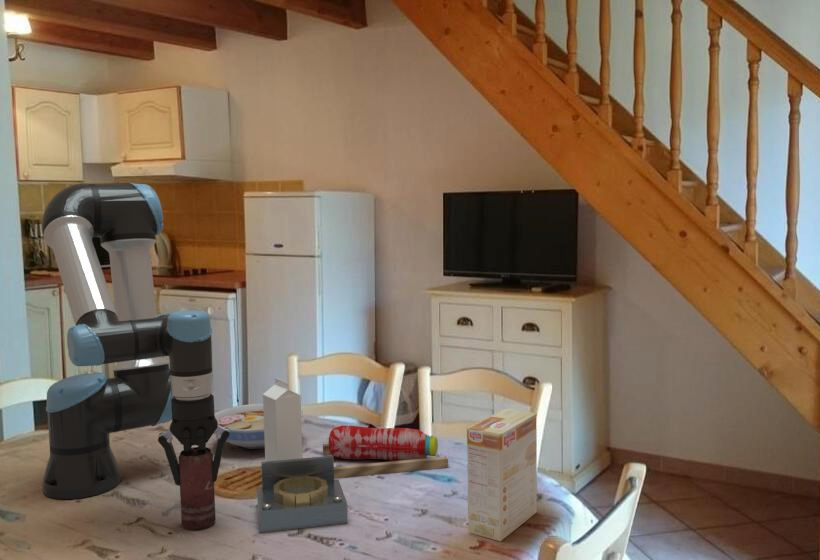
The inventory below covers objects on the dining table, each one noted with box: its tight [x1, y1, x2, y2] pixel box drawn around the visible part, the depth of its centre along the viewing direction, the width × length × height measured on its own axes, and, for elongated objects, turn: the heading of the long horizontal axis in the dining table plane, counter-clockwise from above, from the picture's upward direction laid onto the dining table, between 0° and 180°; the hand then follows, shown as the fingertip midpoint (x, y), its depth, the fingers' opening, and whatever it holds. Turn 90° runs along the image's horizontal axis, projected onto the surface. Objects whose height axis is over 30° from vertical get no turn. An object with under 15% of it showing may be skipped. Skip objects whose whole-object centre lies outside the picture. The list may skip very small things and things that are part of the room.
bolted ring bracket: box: [256, 455, 348, 534], centre depth 143 cm, size 16×12×9 cm
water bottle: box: [327, 423, 439, 462], centre depth 174 cm, size 12×8×25 cm
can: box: [178, 446, 217, 531], centre depth 139 cm, size 6×6×14 cm
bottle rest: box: [322, 434, 449, 479], centre depth 173 cm, size 26×18×2 cm
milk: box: [262, 377, 304, 462], centre depth 160 cm, size 6×6×22 cm
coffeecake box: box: [466, 407, 538, 542], centre depth 137 cm, size 15×7×20 cm, turn 145°
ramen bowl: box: [214, 403, 304, 450], centre depth 185 cm, size 25×23×8 cm
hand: (198, 518), depth 140 cm, fingers closed
